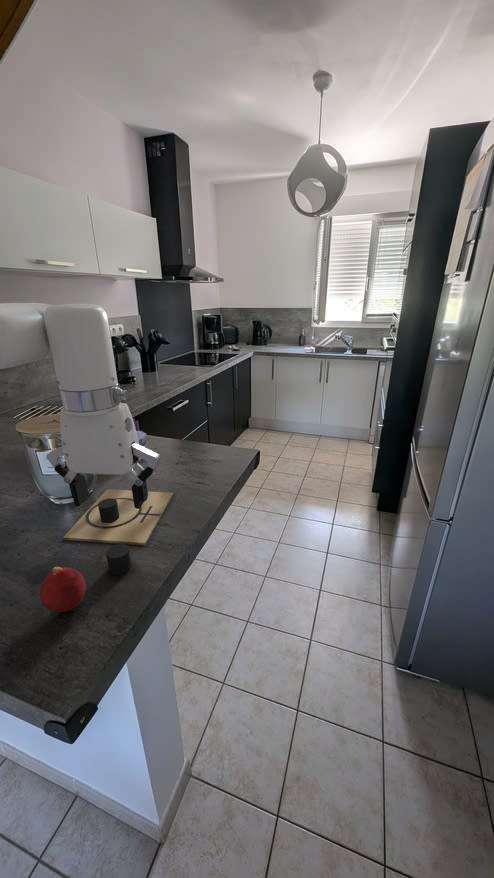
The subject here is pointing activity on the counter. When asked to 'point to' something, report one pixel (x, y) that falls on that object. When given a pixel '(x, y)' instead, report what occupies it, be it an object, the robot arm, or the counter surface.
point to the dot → (108, 510)
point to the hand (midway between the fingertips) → (111, 502)
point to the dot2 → (118, 559)
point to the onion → (62, 589)
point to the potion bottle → (140, 435)
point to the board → (121, 519)
